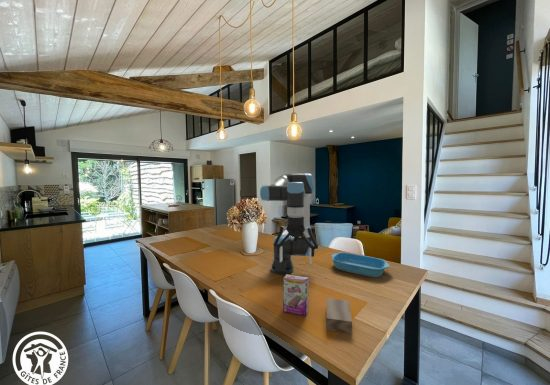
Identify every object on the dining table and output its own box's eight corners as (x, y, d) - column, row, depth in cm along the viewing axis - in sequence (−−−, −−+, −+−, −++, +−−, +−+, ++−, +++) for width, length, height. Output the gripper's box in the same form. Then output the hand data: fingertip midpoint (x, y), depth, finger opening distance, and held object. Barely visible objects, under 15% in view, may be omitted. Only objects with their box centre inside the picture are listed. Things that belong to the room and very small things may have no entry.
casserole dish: (391, 269, 156) (391, 259, 155) (386, 282, 137) (387, 270, 136) (336, 259, 175) (336, 250, 175) (326, 269, 156) (326, 259, 156)
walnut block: (326, 329, 95) (326, 318, 94) (326, 308, 110) (327, 298, 110) (351, 333, 92) (352, 321, 92) (348, 310, 108) (349, 300, 108)
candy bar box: (282, 312, 107) (282, 278, 106) (285, 306, 112) (285, 273, 111) (306, 317, 104) (306, 281, 102) (308, 310, 108) (308, 276, 107)
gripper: (266, 216, 104) (267, 262, 105) (323, 218, 98) (323, 267, 99) (270, 214, 111) (271, 257, 113) (324, 215, 105) (323, 261, 107)
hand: (295, 262), depth 106 cm, fingers open, 13 cm apart
